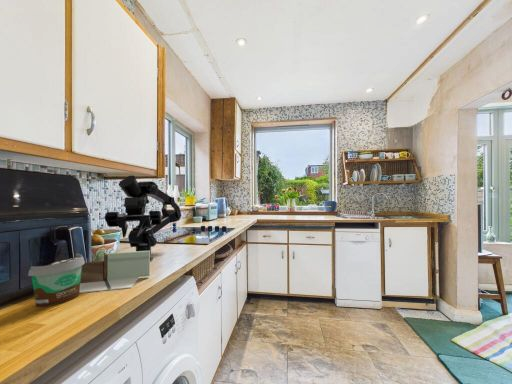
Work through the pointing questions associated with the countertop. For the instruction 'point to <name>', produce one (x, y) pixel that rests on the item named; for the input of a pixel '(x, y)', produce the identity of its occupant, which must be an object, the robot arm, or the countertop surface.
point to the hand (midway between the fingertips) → (130, 236)
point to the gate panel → (128, 264)
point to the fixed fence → (95, 271)
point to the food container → (57, 281)
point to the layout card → (108, 285)
